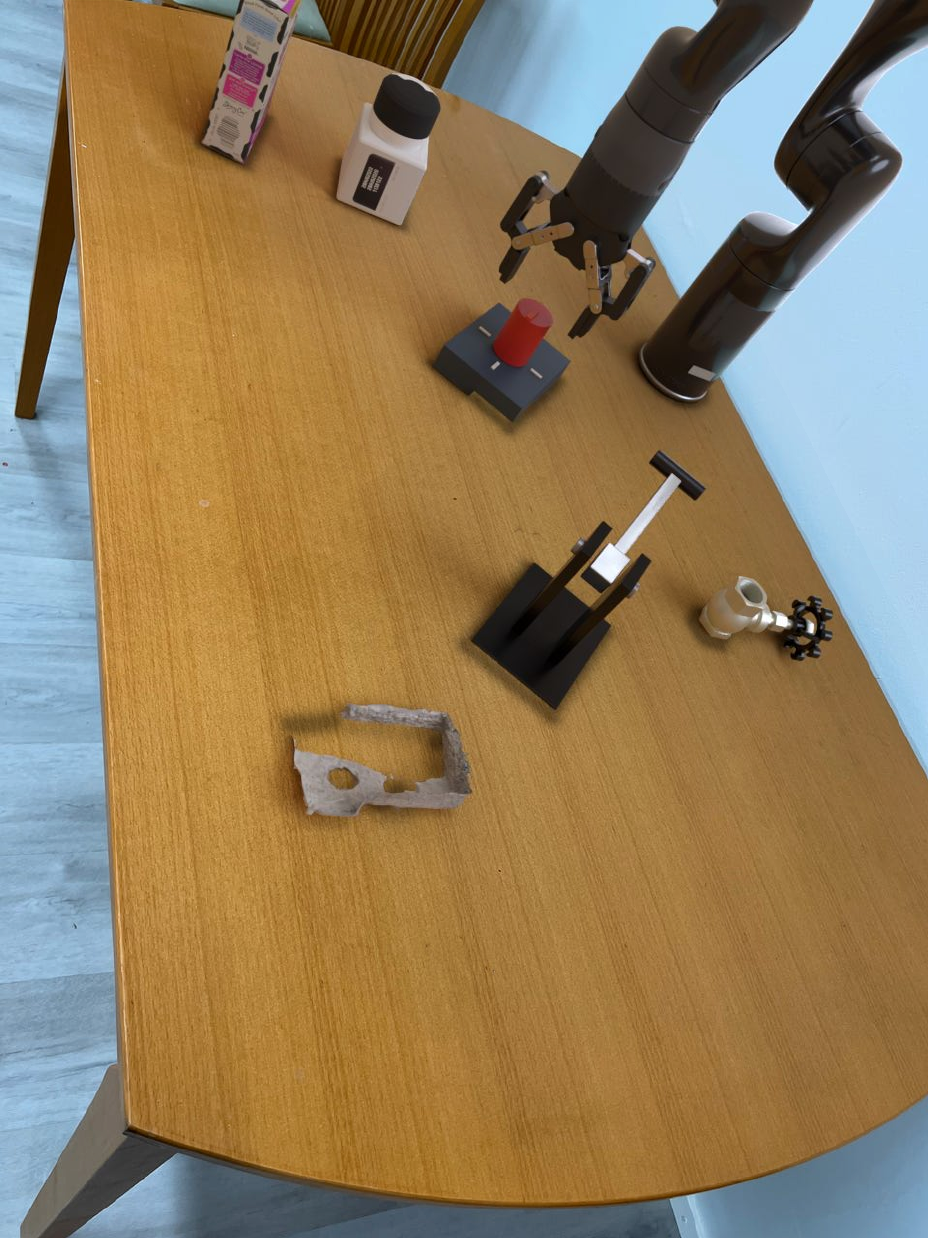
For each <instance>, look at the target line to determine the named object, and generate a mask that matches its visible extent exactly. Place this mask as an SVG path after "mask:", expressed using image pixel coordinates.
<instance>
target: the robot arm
mask: <svg viewBox="0 0 928 1238" xmlns="http://www.w3.org/2000/svg"><path fill="white" fill-rule="evenodd" d="M711 2H712V3H713V4H714V6H715V7H716V10H715V12H714V13H713V15H712V16H711V17H710V18H709V20H708V21H707V22H706V23H705V24H704V26H703V27H701V28H700V29H699V30H698V31H697V30H695V29H693V28H690V27H687V26H682V25H681V26H680V25H675V26H671V27H669V28H667V29H665V30H664V31H663V32H662V33H661V34H660V35H659V36H658V38H657V39H656V40H655V42H654V43H653V44H652V46H651V47H650V49H649V51H648V52H647V54H646V56H645V57H644V59H643V60H642V62H641V64H640V65H639V67H638V69H637V71H636V72H635V74H634V76H633V77H632V79H631V81H630V83H629V84H628V86H627V87H626V90H625V91H624V93H623V94H622V96H620V98H619V99H618V101H617V102H615V104H614V105H613V107H612V108H611V110H610V111H609V112H608V114H607V115H606V117H605V119H604V120H603V122H602V123H601V124H600V126H598V128H597V129H596V131H595V133H594V135H593V139H592V141H591V142H590V144H589V146H588V147H587V149H586V151H585V153H584V154H583V156H582V157H581V159H580V161H579V162H578V164H577V166H576V168H575V169H574V171H573V172H572V174H571V176H570V178H569V180H568V181H567V183H566V184H565V186H564V187H563V188H562V189H561V190H560V188H559V189H558V187H557V186H555V185H554V184H553V183H552V182H551V181H550V178H551V177H550V174H549V172H548V171H546V170H544V169H542V170H540V171H539V172H537V173H535V174H533V175H532V176H530V177H529V178H527V180H526V182H525V183H524V185H523V186H522V188H521V189H520V191H519V193H518V194H517V196H516V197H515V199H514V200H513V202H512V204H511V205H510V206H509V208H508V210H507V211H506V212H505V214H504V216H503V217H502V219H501V220H500V221H499V222H500V223H499V229H500V230H501V231H502V232H503V233H506V234H507V235H508V237H509V239H510V242H511V243H510V246H509V248H508V249H507V251H506V253H505V255H504V257H503V259H502V260H501V262H500V263H499V266H498V273H499V274H501V275H500V277H499V278H498V280H499V281H500V282H502V284H504V285H506V284H507V283H508V282H510V281H511V280H512V279H513V278H514V277H515V276H516V274H517V272H518V270H519V269H520V267H521V266H522V264H523V262H524V261H525V259H526V257H527V255H528V254H529V252H530V251H531V248H532V247H533V246H534V247H535V246H540V245H543V244H546V243H547V244H548V243H550V242H551V244H552V245H553V247H554V248H553V251H554V252H556V253H557V254H558V255H559V256H561V257H563V258H566V259H567V260H568V261H569V262H570V264H571V265H572V267H574V268H575V269H576V270H578V272H580V271H584V272H585V286H586V289H587V290H588V301H589V304H588V305H587V306H586V307H585V308H584V309H583V311H582V312H581V314H580V315H579V316H578V318H577V320H576V321H575V322H574V324H573V325H572V326H571V328H570V330H569V331H568V333H567V336H568V337H569V338H570V339H571V340H574V339H576V337H578V338H579V339H581V338H583V337H585V336H586V335H587V334H588V333H589V332H590V331H591V330H592V328H593V327H594V326H595V324H596V322H597V321H598V320H599V318H600V317H601V316H607V317H608V318H609V319H610V320H611V321H614V322H616V321H618V320H620V318H622V317H623V316H624V314H626V312H627V311H629V309H630V308H631V306H632V305H633V303H634V302H635V300H636V298H637V297H638V295H639V293H640V292H641V290H642V288H643V287H644V286H645V284H646V282H647V281H648V279H649V278H650V276H651V275H652V273H653V271H654V269H655V268H656V266H657V263H656V260H655V259H654V257H652V256H647V257H646V258H644V257H643V256H641V255H640V254H639V253H638V252H636V250H633V249H632V243H633V240H634V237H635V236H636V235H637V232H638V231H639V230H640V228H641V227H642V225H643V224H644V222H645V221H646V219H647V218H648V216H649V215H650V214H651V212H652V210H653V209H654V208H655V206H656V205H657V204H658V202H659V200H660V199H661V197H662V196H663V194H664V193H665V192H666V190H667V188H668V187H669V185H670V184H671V183H672V181H673V180H674V178H675V177H676V176H677V174H678V172H679V171H680V170H681V167H682V166H683V165H684V162H685V161H686V159H687V157H688V155H689V153H690V151H691V149H692V147H693V146H694V144H695V143H696V141H697V139H698V137H699V136H700V135H701V133H702V132H703V130H704V129H705V127H706V126H707V124H708V123H709V121H710V120H711V118H712V117H713V115H714V114H715V113H716V111H717V109H718V108H719V106H721V103H722V102H723V100H724V99H725V97H726V96H728V94H730V93H731V91H733V90H734V89H735V88H736V87H737V86H738V85H740V84H741V83H742V82H743V81H744V80H745V79H746V78H747V77H748V76H750V75H751V74H752V73H753V72H754V71H755V70H756V69H757V68H758V67H759V66H760V65H762V64H763V62H765V61H766V60H767V59H768V58H769V57H770V56H771V55H772V54H773V53H774V52H776V50H778V49H779V48H780V47H781V46H782V45H783V44H784V43H785V42H786V41H788V39H789V38H790V37H791V36H792V35H793V34H794V33H795V32H796V31H797V29H798V28H799V27H800V25H801V24H802V23H803V22H804V19H805V18H806V17H807V15H808V14H809V12H810V10H811V8H812V6H813V4H814V2H815V0H711ZM868 7H869V8H868V9H867V10H866V12H865V14H864V15H863V17H862V18H861V20H860V22H859V23H858V25H857V27H856V28H855V30H854V31H853V33H852V35H851V36H850V37H849V39H848V41H847V42H846V44H845V45H844V47H843V48H842V50H841V51H840V53H839V54H838V55H837V57H836V58H835V59H834V61H833V62H832V64H831V65H830V67H829V68H828V69H827V71H826V73H825V74H824V75H823V77H822V78H821V79H820V81H819V82H818V83H817V84H816V86H815V88H814V89H813V91H812V92H811V93H810V94H809V96H808V97H807V99H806V100H805V102H804V103H803V105H802V106H801V108H800V109H799V111H798V112H797V114H796V115H795V116H794V118H793V119H792V121H791V123H790V124H789V126H788V128H786V130H785V132H784V134H783V136H782V137H781V139H780V141H779V143H778V145H777V147H776V150H775V153H774V156H773V159H772V167H773V171H774V174H775V175H776V177H777V179H778V180H779V182H780V183H781V184H782V185H783V186H784V188H785V189H786V190H787V191H788V192H789V193H790V194H791V196H793V197H794V199H795V200H796V201H797V202H798V203H799V204H800V205H801V206H802V207H803V209H804V210H805V211H806V212H807V213H808V214H807V215H806V217H805V218H804V219H803V220H802V221H801V222H800V223H799V224H797V223H793V222H791V221H789V220H787V219H785V218H782V217H780V216H777V215H776V214H773V213H771V212H770V213H769V212H765V211H758V210H757V211H750V212H748V213H746V214H745V215H744V216H743V217H741V218H740V219H739V221H737V223H736V224H735V226H734V227H733V228H732V230H731V231H730V232H729V234H728V235H727V236H726V238H725V239H724V241H723V242H722V243H721V244H720V246H719V247H718V248H717V249H716V251H715V252H714V254H713V255H712V256H711V258H710V259H709V261H707V263H706V264H705V265H704V267H703V268H702V269H701V271H700V272H699V273H698V275H697V276H696V277H695V279H694V280H693V281H692V283H691V284H690V286H689V287H688V288H687V289H686V291H685V292H684V293H683V295H682V296H681V297H680V298H679V300H678V301H677V302H676V304H675V305H674V306H673V308H672V309H671V310H670V312H669V313H668V314H667V315H666V317H665V318H664V319H663V321H662V322H660V323H661V324H659V326H658V327H657V328H656V330H655V331H654V333H653V334H652V335H651V336H650V338H649V339H648V340H647V341H646V342H645V343H644V344H643V345H642V347H641V348H640V349H639V352H638V357H637V358H638V364H639V366H640V368H641V371H642V372H643V374H644V375H645V377H646V378H647V380H648V381H649V382H650V383H651V384H652V385H653V386H654V387H656V389H658V390H659V391H660V392H662V393H663V394H664V395H666V396H668V397H670V398H671V399H674V400H677V401H678V402H679V401H680V402H683V403H687V404H688V403H690V404H692V403H697V402H699V401H701V400H702V399H703V398H704V396H706V394H707V392H708V390H709V389H711V387H712V386H713V385H714V383H715V382H716V381H717V380H718V379H719V378H720V377H721V376H722V375H723V374H724V372H725V371H726V370H727V369H728V368H729V367H730V366H731V364H732V363H733V362H734V361H735V359H736V358H737V357H739V355H740V354H741V353H742V352H743V350H745V348H746V347H747V346H748V345H749V344H750V342H751V341H752V340H753V339H754V338H755V337H756V335H757V334H759V332H760V331H761V330H762V328H763V327H764V326H766V324H767V323H768V322H769V320H770V319H771V318H772V317H773V316H774V315H775V314H776V313H777V311H778V310H779V309H780V308H781V307H782V305H783V304H784V303H785V302H786V301H787V300H788V298H789V297H790V296H791V295H792V294H793V292H795V290H797V288H798V287H799V286H800V285H801V284H802V282H803V281H804V280H805V279H806V278H807V277H808V276H809V275H810V274H811V273H812V272H813V271H814V270H815V269H816V268H817V267H818V266H820V264H822V262H823V261H824V260H825V259H827V257H828V256H829V255H830V254H831V253H832V252H833V251H834V250H835V249H836V247H837V246H838V245H839V244H840V243H841V242H842V241H843V240H844V239H845V238H846V237H847V236H848V234H849V233H850V232H852V230H853V229H855V227H856V226H858V225H859V223H860V222H861V221H862V220H863V219H864V218H865V217H866V216H867V215H868V214H869V213H870V212H871V211H872V210H873V209H874V208H875V207H876V206H877V204H878V203H879V202H880V201H881V200H882V199H883V198H884V197H885V196H886V195H887V194H888V192H889V191H890V189H891V188H892V187H893V185H894V184H895V183H896V181H897V179H898V178H899V176H900V173H901V171H902V170H903V166H904V155H903V153H902V151H901V150H900V148H898V146H897V145H896V144H895V143H894V142H893V141H892V140H891V139H890V138H889V137H888V136H887V134H886V133H885V132H884V131H883V130H882V129H881V128H880V127H879V126H878V125H877V124H876V123H875V122H874V121H873V120H872V119H871V118H870V117H869V116H868V115H867V114H866V113H865V112H864V111H863V106H864V102H865V100H866V99H867V98H868V96H869V94H870V92H871V91H872V90H873V89H874V87H875V86H876V85H877V83H878V82H879V81H880V80H881V79H882V78H883V77H884V75H885V74H887V72H889V71H890V70H891V69H892V68H894V67H895V66H897V65H898V64H900V63H901V62H902V61H905V60H906V59H908V58H909V57H911V56H913V55H915V54H916V53H917V54H918V53H919V52H921V51H923V50H925V49H927V48H928V0H873V1H872V2H871V4H870V6H868ZM545 200H547V201H549V218H550V219H549V221H546V222H544V223H541V224H540V225H536V226H533V227H530V228H527V225H526V224H525V223H524V220H525V218H526V217H527V215H528V214H529V213H530V211H531V209H532V208H533V207H534V205H539V204H541V203H543V202H544V201H545ZM620 262H623V263H624V264H625V269H624V271H623V273H624V274H623V275H624V277H625V279H626V282H625V284H624V285H623V286H622V288H621V291H620V292H619V293H618V294H617V297H616V298H615V297H612V285H611V282H612V278H613V265H614V264H618V263H620Z"/></svg>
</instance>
